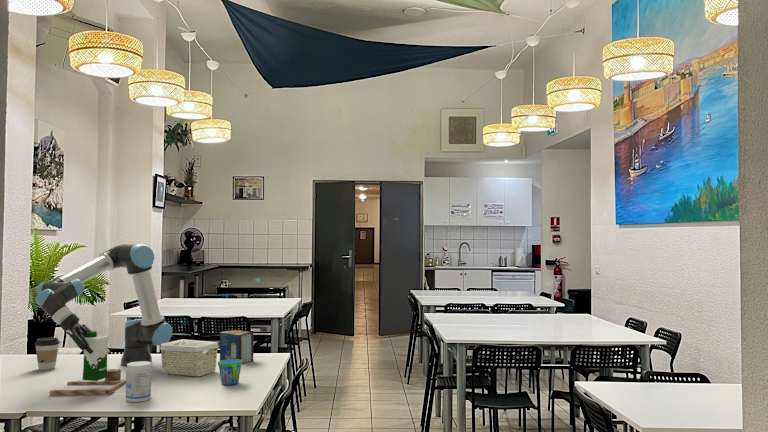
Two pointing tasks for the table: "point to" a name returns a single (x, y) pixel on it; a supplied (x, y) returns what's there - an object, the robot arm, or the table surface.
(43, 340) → the coffee cup
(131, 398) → the supplement tub
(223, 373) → the snack cup
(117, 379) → the walnut cube
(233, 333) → the protein box
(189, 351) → the storage basket
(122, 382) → the lane
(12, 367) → the table surface
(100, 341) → the soya milk
